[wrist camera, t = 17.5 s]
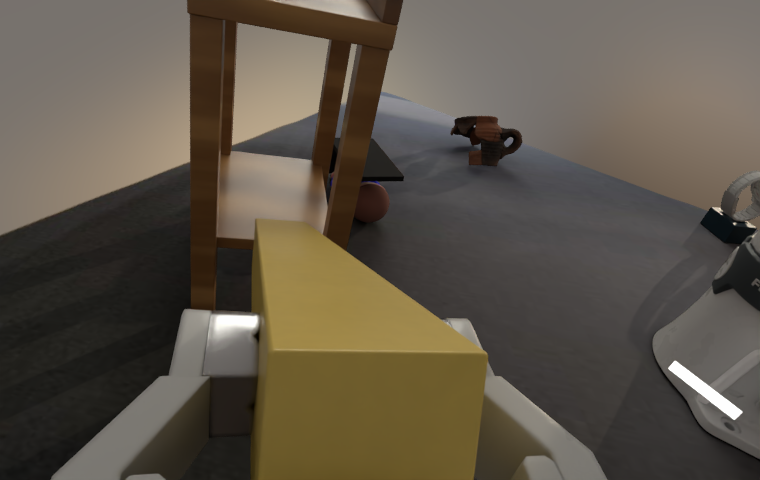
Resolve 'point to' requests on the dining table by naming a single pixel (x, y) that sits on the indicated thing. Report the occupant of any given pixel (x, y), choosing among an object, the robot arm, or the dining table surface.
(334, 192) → the wooden side table
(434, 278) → the dining table surface
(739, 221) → the watch
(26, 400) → the dining table surface
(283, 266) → the yellow bar
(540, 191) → the dining table surface
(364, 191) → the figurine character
